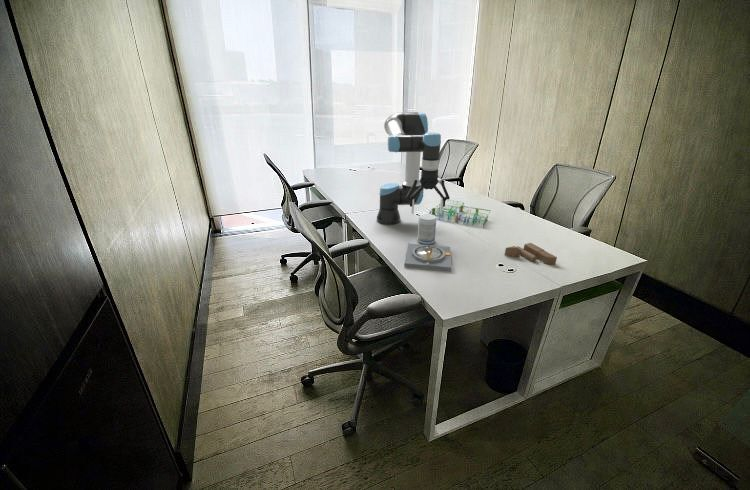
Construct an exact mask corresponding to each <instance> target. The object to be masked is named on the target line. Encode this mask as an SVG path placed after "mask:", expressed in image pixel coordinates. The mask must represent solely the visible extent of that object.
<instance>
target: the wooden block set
mask: <svg viewBox="0 0 750 490" xmlns="http://www.w3.org/2000/svg"><path fill="white" fill-rule="evenodd" d="M523 245H524V246H523V248H522V247H521V246H519V245H518V246H515V245H513V246H507V247H505V250H504V256H507V257H513V258H520V257H521V256H522V257H523V258H525V259H527V260H528V261H530V262H536V261H537V260H539V261H540V262H542V263H544V264H546V265H550V266H553V265H556V262H557V259H558V257H557V256H556V255H554V254H552V253H550V252H548V251H546V250H545V249H543V248H542V247H540V246H538V245H535V244H534V243H532V242H528V243H525V244H523Z"/></svg>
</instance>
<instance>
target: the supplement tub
mask: <svg viewBox="0 0 750 490" xmlns="http://www.w3.org/2000/svg"><path fill="white" fill-rule="evenodd" d="M435 215H436V214H432V213H431V214H429V213H422V214H420V215H419V216H418V226H417V242H419V243H420V244H421V245H432V244H434V243H435V239H436V231H437V230H436V229H437V228H436V225H437V215H436V216H435Z"/></svg>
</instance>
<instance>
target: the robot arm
mask: <svg viewBox="0 0 750 490" xmlns="http://www.w3.org/2000/svg"><path fill="white" fill-rule="evenodd" d="M383 127H384V130H385V133H386V134H387V135H388V137H387V151H388V152H391V153H405V169H404V181H403V182H402V184H401V186H400V185H399V183H395V182H390V183H389V182H388V183H386V184H382V185H381V186H380V187H379V208H378V212H377V215H376V221H377V223H380V224H381V225H387V226H388V225H389V226H390V225H391V226H392V225H397V224H398V223H400V222H401V215H400V211H399V206H409V207H411V214H413V215H414V213H415V206H416V205H420V204H422V201H423V199H424V191H425V190H433V189H434V190H435V192H436V193H437V194H438V195H439V196H440V198H441V199H440V203H439V204H440V213H439V215H440V214H442V209H443V207H444V208H445V207H446V202H447V201H448V200H450V199H451V198H450V195H449V193H448V191H447V188H446V186H445V180H444V179H443V178H441V179H439V178H438V177H439V170H438V169H439V164H440V163H439V162H440V153H441V143H442V140H441V139H442V135H441V134H440V133H438V132H429V121H428V117H427V114H426V113H424V112H421V111H420V112H418V111H416V112H415V111H412V112H408V111H407V112H401V111H400V112H396V113H395V112H394V113H393V114H391V115H389V116H388V117H387V118H386V120H385V122H384V124H383ZM421 153H422V154H421ZM421 155H422V158H421ZM420 168H421V170H420ZM420 171H421V176H420ZM438 184H439V185H441V188H442V191H443V193H444V194H443V193H442V192H441V190H440V189H439V188H438V186H437V185H438ZM444 195H445V196H444ZM443 210H444V209H443Z"/></svg>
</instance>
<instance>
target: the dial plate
mask: <svg viewBox="0 0 750 490" xmlns="http://www.w3.org/2000/svg"><path fill="white" fill-rule="evenodd" d="M428 245H430V246H431V247H433V248H436V249H438V250H439V251H440V252H441V256H440V257H439V258H435V259H429V260H427V259H426V258H422V257H419V256H417V254H416V253H417V250H418V249H419V248H422V247H427V246H428ZM451 255H452V254H451V246H445V245H443V246H442V245H432V244H422V243H420V244H419V243H418V244H416V243H408V244H407V250H406V253H405V259H404V264H403V265H404V268H412V269H413V268H415V269H424V270H434V271H435V270H436V271H444V272H445V271H447V272H452V256H451Z"/></svg>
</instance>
